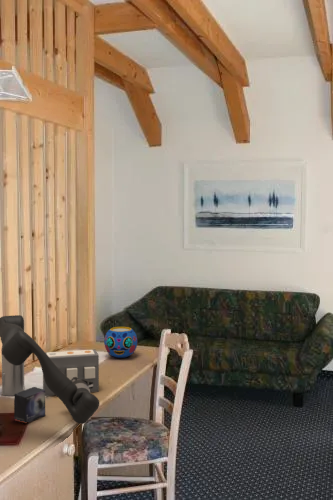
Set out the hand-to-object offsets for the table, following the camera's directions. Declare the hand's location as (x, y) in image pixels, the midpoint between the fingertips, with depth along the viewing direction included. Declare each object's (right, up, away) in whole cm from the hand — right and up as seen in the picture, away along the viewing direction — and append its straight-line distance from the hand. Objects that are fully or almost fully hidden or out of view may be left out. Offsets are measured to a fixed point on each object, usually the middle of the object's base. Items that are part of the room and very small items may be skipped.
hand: (74, 379), depth 229 cm
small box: (-14, -12, -15) cm, 24 cm away
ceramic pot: (+13, -5, +72) cm, 73 cm away
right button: (+4, -2, +14) cm, 15 cm away
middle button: (-3, -2, +12) cm, 12 cm away
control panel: (-5, -9, +18) cm, 20 cm away
